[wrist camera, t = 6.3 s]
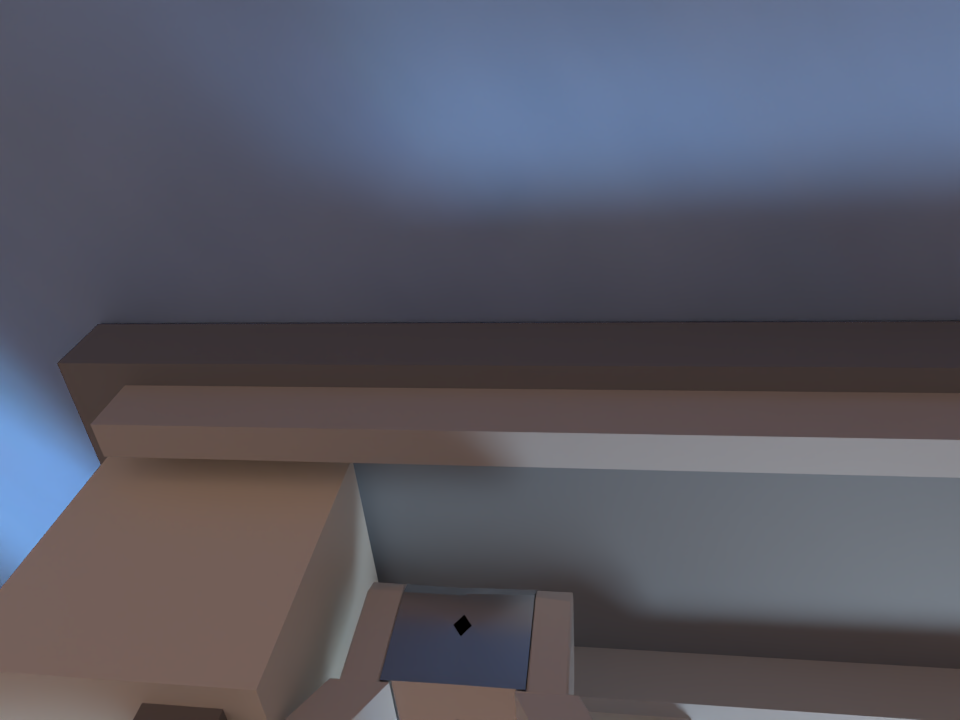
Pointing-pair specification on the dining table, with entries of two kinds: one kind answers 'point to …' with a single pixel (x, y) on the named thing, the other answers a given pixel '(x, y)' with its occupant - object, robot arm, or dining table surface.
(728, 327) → the panel
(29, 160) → the dining table surface
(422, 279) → the dining table surface
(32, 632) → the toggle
